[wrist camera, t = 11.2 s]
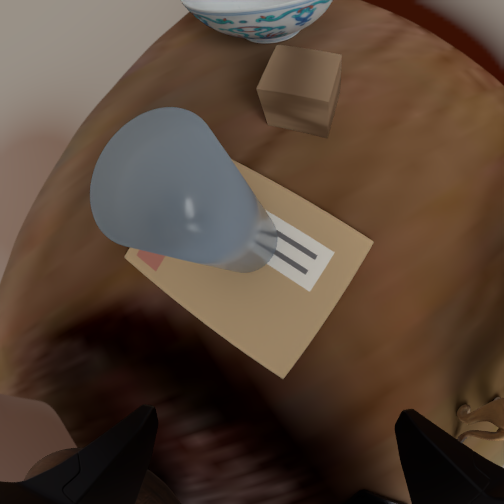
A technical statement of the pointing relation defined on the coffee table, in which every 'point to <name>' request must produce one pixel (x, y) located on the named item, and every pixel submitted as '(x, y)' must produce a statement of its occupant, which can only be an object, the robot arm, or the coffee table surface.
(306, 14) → the chinaware
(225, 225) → the grey cylinder
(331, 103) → the walnut block
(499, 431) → the lion figurine
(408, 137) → the coffee table surface
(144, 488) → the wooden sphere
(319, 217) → the envelope
